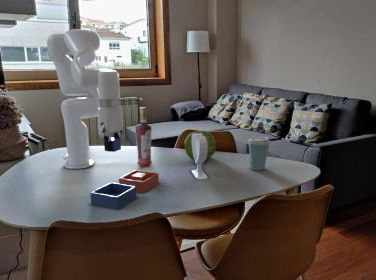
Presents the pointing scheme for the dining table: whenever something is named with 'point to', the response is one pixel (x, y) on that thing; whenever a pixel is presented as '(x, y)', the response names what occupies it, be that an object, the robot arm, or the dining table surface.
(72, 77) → the robot arm
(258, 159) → the disposable coffee cup
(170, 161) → the dining table surface
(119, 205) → the blue bin
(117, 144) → the blue block
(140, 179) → the rust block
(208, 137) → the lettuce
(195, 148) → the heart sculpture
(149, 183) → the rust bin
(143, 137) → the liquor
